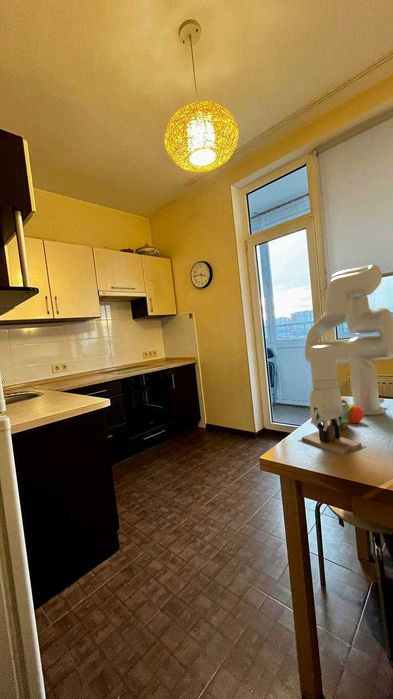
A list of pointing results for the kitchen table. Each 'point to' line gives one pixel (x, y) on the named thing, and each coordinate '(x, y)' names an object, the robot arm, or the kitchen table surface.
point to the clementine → (354, 414)
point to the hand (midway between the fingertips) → (329, 438)
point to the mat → (333, 452)
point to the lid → (332, 442)
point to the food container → (344, 416)
